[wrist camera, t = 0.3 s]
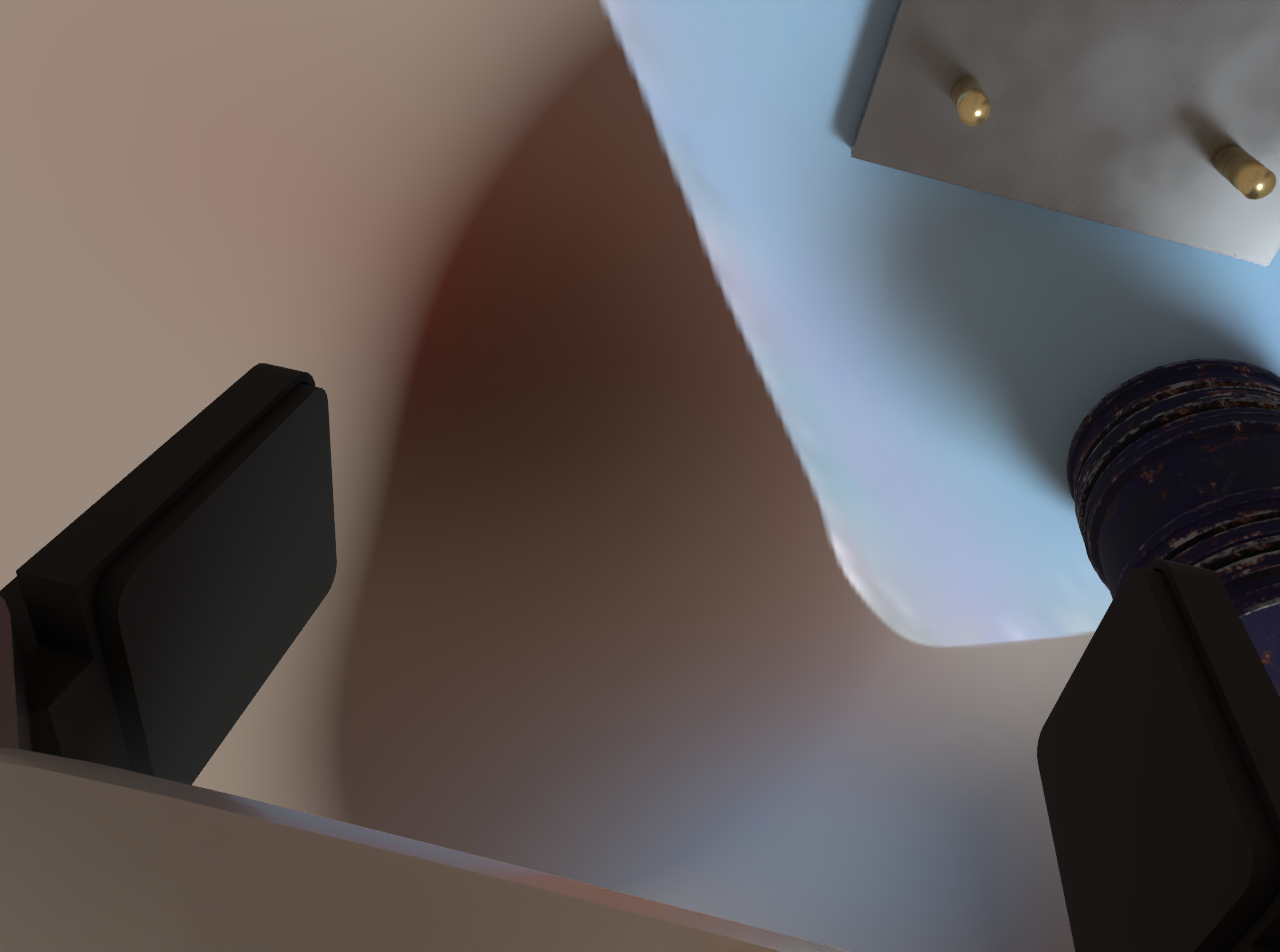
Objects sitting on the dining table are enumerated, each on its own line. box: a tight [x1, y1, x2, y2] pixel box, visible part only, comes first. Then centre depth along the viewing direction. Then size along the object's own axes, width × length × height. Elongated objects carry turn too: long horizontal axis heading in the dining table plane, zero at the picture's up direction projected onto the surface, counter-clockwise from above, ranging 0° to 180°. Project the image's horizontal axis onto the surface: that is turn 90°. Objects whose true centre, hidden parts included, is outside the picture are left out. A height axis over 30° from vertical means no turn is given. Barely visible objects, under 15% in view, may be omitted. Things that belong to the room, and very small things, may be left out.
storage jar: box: [1067, 359, 1280, 697], centre depth 36 cm, size 10×10×15 cm
